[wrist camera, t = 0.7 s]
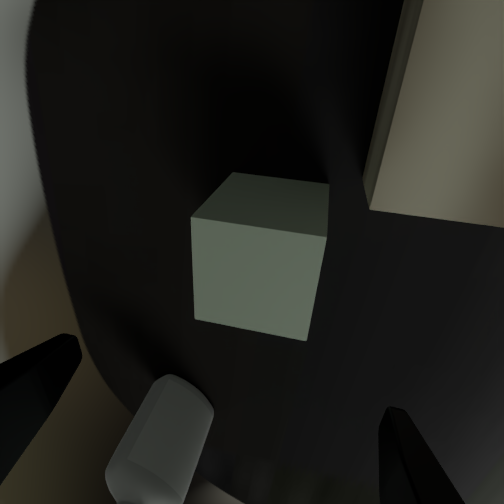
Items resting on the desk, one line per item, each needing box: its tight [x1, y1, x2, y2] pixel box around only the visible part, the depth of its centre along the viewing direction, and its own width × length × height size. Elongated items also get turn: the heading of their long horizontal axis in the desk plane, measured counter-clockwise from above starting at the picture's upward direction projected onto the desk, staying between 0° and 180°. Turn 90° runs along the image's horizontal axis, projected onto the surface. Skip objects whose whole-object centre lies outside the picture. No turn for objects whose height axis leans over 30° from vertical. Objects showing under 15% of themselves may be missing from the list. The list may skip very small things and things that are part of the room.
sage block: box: [191, 172, 329, 341], centre depth 16 cm, size 5×5×6 cm
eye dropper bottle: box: [105, 374, 214, 504], centre depth 23 cm, size 4×6×12 cm
